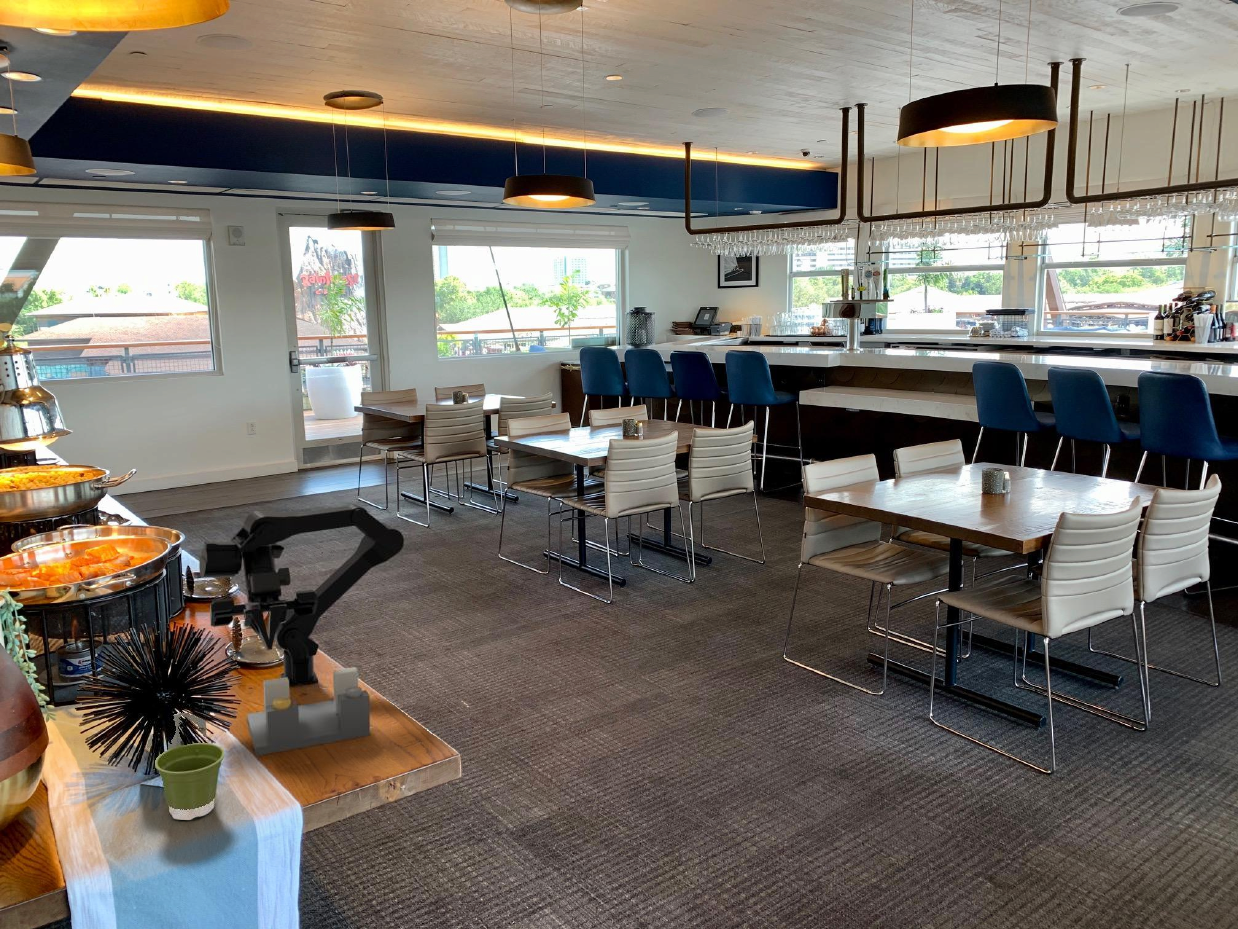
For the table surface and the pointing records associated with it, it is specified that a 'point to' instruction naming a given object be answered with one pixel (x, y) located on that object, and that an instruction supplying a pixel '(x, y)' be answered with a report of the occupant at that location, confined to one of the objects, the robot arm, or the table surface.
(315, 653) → the robot arm
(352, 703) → the grey holder stand
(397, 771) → the table surface
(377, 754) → the table surface
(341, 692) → the cream upright block
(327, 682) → the table surface
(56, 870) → the table surface
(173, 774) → the plant pot
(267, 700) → the tall white block
